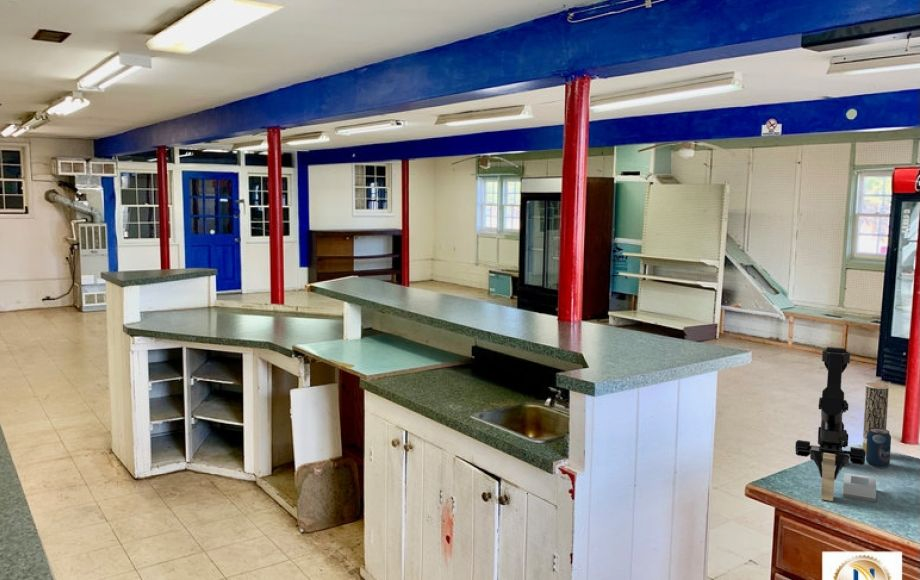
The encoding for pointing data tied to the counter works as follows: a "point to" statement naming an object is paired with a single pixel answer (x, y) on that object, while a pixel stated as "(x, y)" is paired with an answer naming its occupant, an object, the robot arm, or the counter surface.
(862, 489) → the end cap
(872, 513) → the counter surface
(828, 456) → the slat
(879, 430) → the soda can
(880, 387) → the bark log
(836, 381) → the robot arm
